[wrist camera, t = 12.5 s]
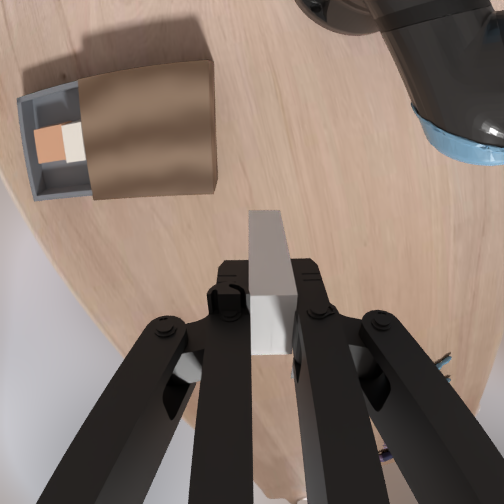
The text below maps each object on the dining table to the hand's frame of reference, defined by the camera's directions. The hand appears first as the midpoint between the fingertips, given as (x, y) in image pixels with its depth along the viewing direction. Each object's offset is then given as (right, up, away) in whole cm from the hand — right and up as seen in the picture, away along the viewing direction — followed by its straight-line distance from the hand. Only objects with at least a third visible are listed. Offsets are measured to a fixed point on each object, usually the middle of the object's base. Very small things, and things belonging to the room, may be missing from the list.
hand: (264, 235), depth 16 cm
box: (-27, +16, +23) cm, 39 cm away
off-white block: (-21, +14, +20) cm, 33 cm away
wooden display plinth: (-13, +16, +23) cm, 31 cm away
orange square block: (-28, +14, +20) cm, 37 cm away
